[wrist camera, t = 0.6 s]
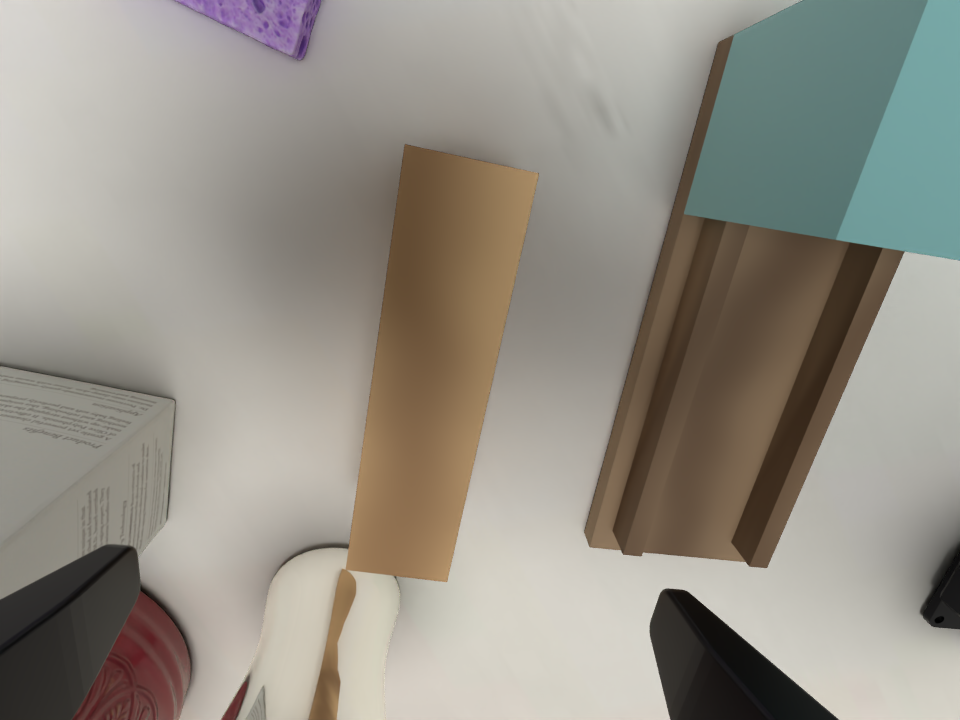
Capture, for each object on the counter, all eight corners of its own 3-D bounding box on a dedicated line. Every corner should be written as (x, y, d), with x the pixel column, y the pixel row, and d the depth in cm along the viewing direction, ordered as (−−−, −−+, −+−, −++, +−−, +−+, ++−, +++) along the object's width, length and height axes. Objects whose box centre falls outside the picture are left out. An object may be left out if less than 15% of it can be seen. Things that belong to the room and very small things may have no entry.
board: (933, 86, 18) (1007, 72, 15) (744, 547, 24) (776, 588, 22) (718, 42, 17) (761, 21, 14) (584, 532, 23) (598, 571, 21)
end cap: (960, 81, 17) (1331, 12, 10) (890, 248, 18) (1157, 293, 11) (733, 34, 16) (958, -78, 9) (683, 213, 18) (835, 239, 11)
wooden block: (516, 173, 18) (539, 173, 13) (448, 498, 23) (446, 581, 18) (417, 152, 18) (404, 144, 13) (368, 487, 22) (345, 570, 18)
